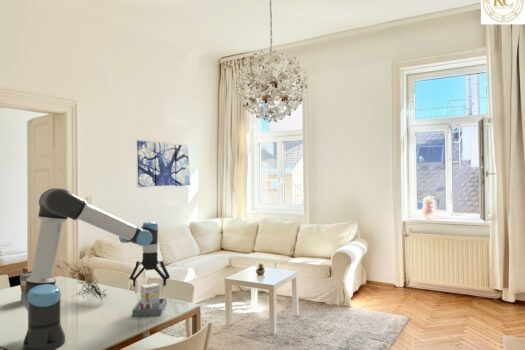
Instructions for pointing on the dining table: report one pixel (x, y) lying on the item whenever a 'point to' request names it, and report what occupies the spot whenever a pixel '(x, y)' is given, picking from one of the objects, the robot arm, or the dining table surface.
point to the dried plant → (87, 281)
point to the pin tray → (155, 311)
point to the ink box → (150, 295)
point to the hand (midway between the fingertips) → (149, 292)
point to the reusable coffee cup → (24, 279)
